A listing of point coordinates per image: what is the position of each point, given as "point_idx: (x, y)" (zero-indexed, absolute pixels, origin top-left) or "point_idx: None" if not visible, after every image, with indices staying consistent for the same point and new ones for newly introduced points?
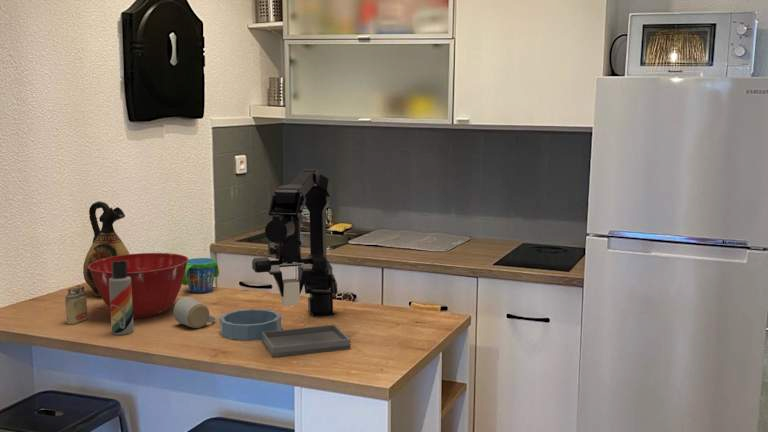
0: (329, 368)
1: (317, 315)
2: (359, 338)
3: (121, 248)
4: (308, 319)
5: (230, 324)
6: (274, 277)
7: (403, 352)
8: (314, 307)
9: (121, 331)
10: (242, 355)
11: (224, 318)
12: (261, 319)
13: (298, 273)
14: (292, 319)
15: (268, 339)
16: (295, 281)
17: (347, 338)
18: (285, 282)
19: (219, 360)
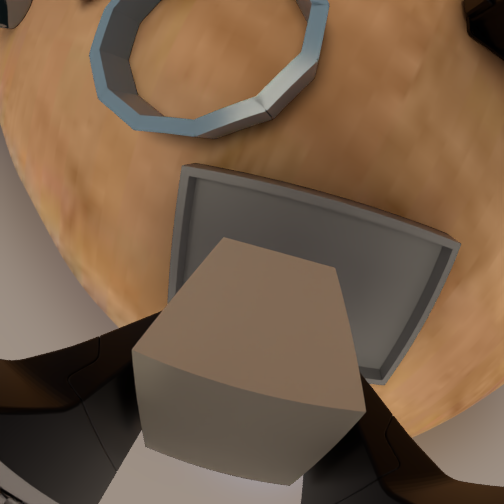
0: None
1: (478, 40)
2: (455, 311)
3: None
4: (447, 39)
5: (96, 90)
6: (37, 369)
7: (426, 413)
8: (485, 18)
9: (8, 27)
10: (116, 258)
11: (121, 3)
12: None
13: (376, 500)
14: (400, 3)
15: (175, 263)
16: (265, 473)
17: (384, 378)
18: (160, 447)
19: (74, 259)
